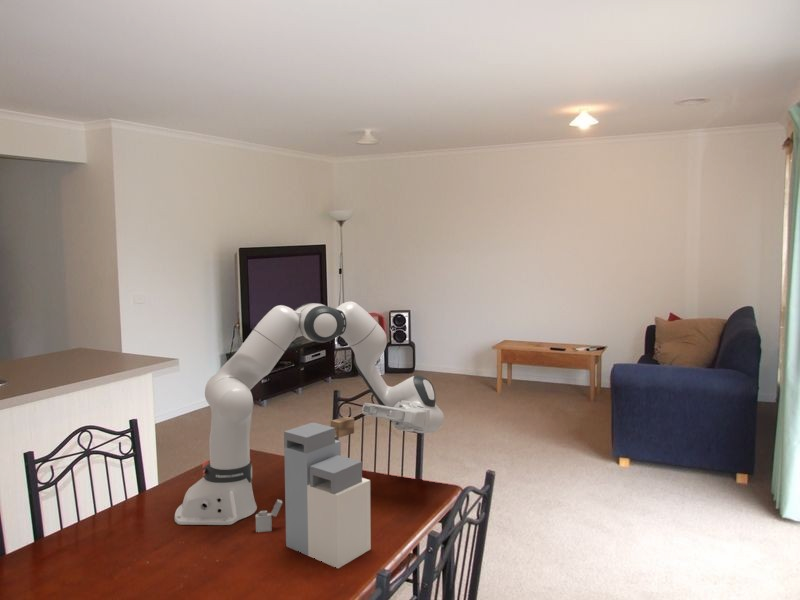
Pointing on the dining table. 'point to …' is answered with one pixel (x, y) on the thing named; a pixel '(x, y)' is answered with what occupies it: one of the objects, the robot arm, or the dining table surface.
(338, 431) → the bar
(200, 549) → the dining table surface
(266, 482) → the dining table surface
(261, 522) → the lighter
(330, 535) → the stand
